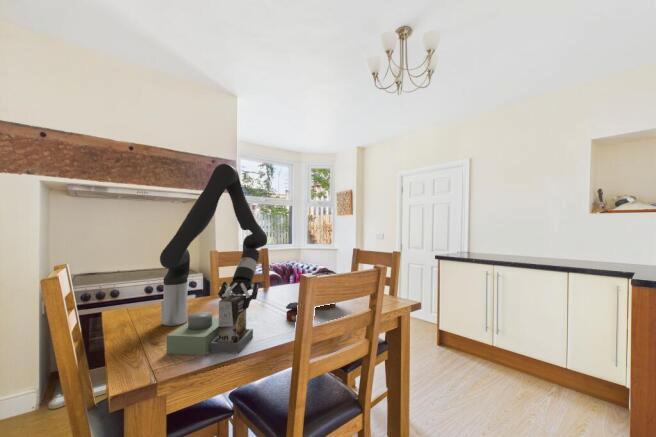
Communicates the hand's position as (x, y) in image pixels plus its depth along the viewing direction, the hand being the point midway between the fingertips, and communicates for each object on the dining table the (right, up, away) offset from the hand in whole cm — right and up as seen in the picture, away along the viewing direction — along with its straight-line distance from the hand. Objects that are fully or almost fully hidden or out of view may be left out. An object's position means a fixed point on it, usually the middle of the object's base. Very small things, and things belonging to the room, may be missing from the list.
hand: (233, 308), depth 104 cm
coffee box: (0, -12, -1) cm, 12 cm away
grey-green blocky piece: (-7, -12, -1) cm, 14 cm away
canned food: (+21, -13, +26) cm, 36 cm away
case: (+32, -13, +43) cm, 55 cm away
